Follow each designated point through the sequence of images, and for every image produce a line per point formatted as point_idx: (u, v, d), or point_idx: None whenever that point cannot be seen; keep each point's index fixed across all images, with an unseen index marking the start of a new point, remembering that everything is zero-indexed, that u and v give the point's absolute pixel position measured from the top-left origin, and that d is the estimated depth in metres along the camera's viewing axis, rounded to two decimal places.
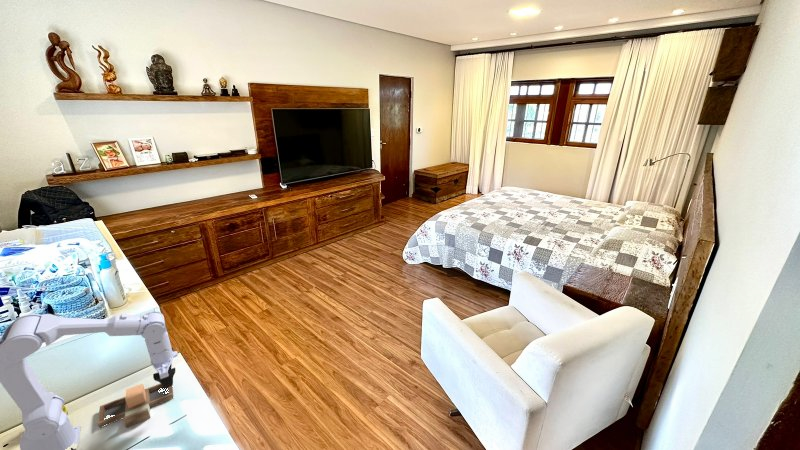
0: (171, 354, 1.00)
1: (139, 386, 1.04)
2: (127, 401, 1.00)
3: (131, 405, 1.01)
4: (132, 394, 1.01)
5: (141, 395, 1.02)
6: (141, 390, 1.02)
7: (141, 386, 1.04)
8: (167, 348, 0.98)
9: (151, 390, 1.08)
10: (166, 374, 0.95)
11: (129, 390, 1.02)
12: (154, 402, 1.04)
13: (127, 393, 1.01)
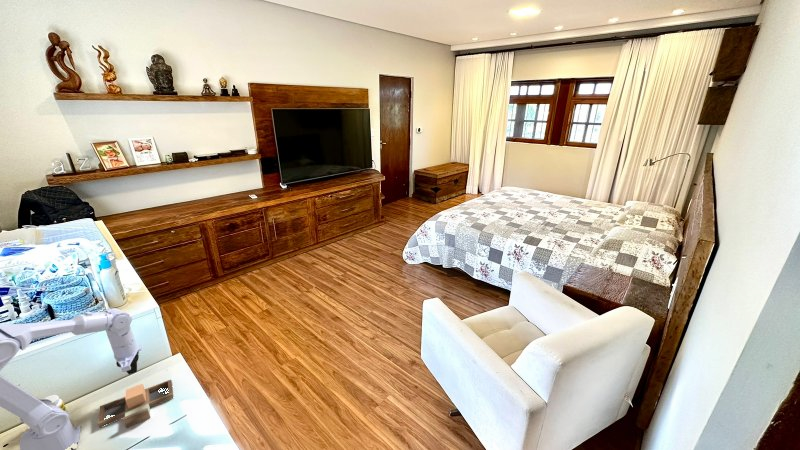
0: (135, 348, 1.03)
1: (139, 386, 1.04)
2: (127, 401, 1.00)
3: (131, 405, 1.01)
4: (132, 394, 1.01)
5: (141, 395, 1.02)
6: (141, 390, 1.02)
7: (141, 386, 1.04)
8: (130, 342, 1.00)
9: (151, 390, 1.08)
10: (128, 367, 0.98)
11: (129, 390, 1.02)
12: (154, 402, 1.04)
13: (127, 393, 1.01)
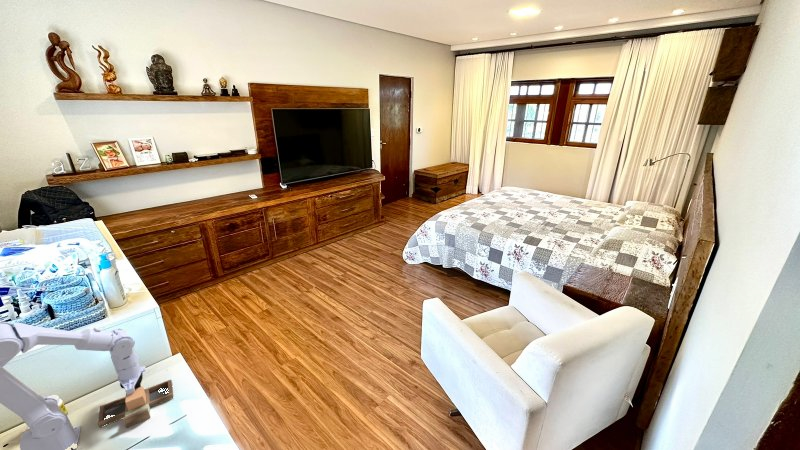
0: (138, 369, 1.02)
1: (139, 388, 1.03)
2: (127, 404, 0.99)
3: (131, 408, 1.00)
4: (132, 397, 1.00)
5: (141, 398, 1.01)
6: (141, 393, 1.02)
7: (141, 388, 1.03)
8: (134, 364, 0.99)
9: (151, 390, 1.08)
10: (132, 389, 0.97)
11: None
12: (154, 402, 1.04)
13: (127, 396, 1.00)
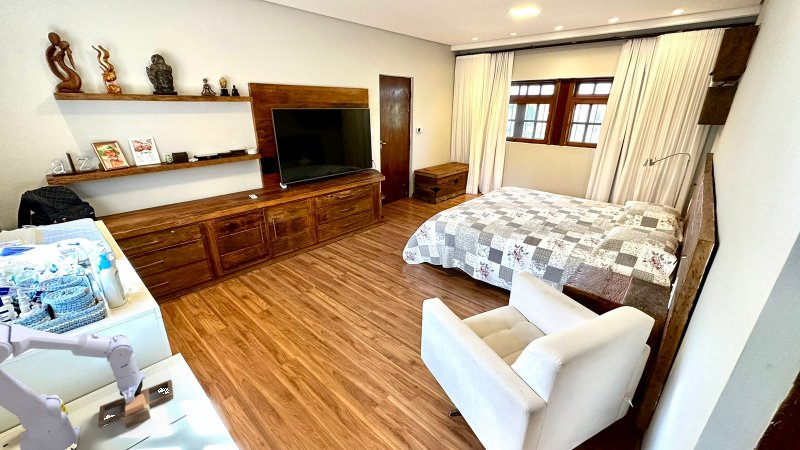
0: (138, 377, 0.99)
1: (139, 396, 1.01)
2: (127, 412, 0.97)
3: None
4: (132, 405, 0.98)
5: (141, 405, 0.99)
6: (141, 400, 0.99)
7: (141, 396, 1.01)
8: (134, 371, 0.97)
9: (151, 390, 1.08)
10: (132, 397, 0.94)
11: None
12: (154, 402, 1.04)
13: (127, 403, 0.98)
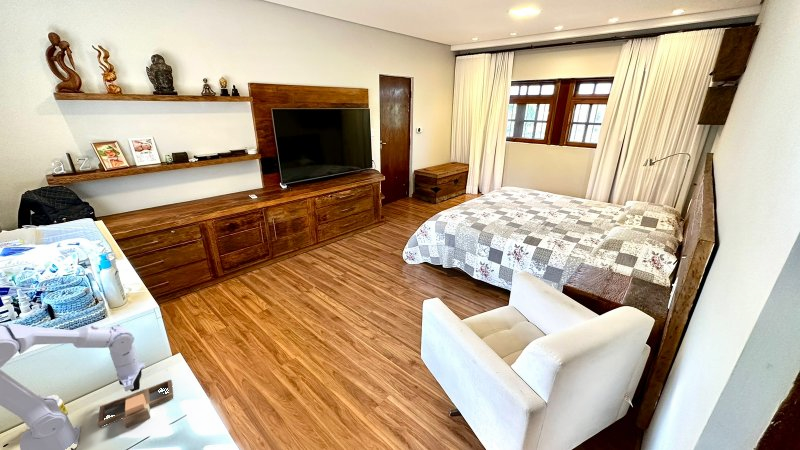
0: (138, 366, 1.01)
1: (139, 396, 1.01)
2: (127, 412, 0.97)
3: None
4: (132, 405, 0.98)
5: (141, 405, 0.99)
6: (141, 400, 0.99)
7: (141, 396, 1.01)
8: (133, 360, 0.99)
9: (151, 390, 1.08)
10: (131, 386, 0.97)
11: (129, 400, 0.99)
12: (154, 402, 1.04)
13: (127, 403, 0.98)
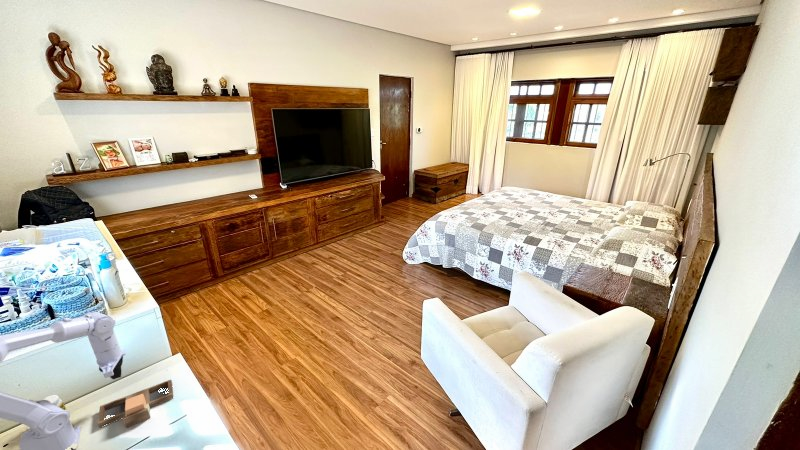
0: (118, 353, 0.99)
1: (139, 396, 1.01)
2: (127, 412, 0.97)
3: None
4: (132, 405, 0.98)
5: (141, 405, 0.99)
6: (141, 400, 0.99)
7: (141, 396, 1.01)
8: (113, 347, 0.97)
9: (151, 390, 1.08)
10: (110, 373, 0.94)
11: (129, 400, 0.99)
12: (154, 402, 1.04)
13: (127, 403, 0.98)
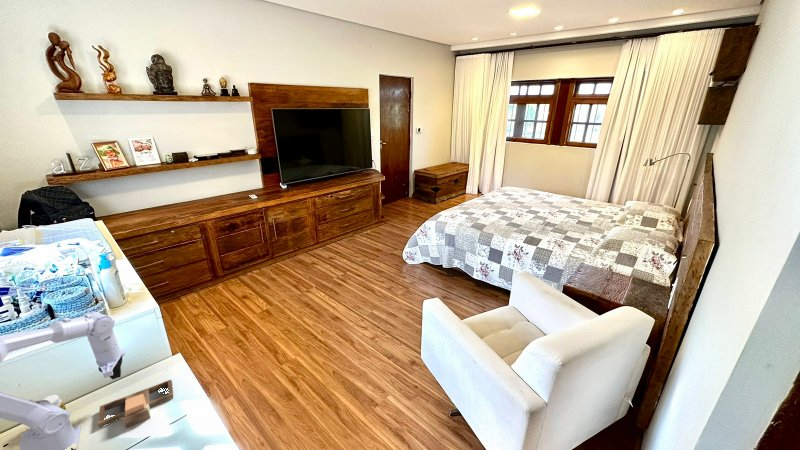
0: (118, 353, 0.99)
1: (139, 396, 1.01)
2: (127, 412, 0.97)
3: None
4: (132, 405, 0.98)
5: (141, 405, 0.99)
6: (141, 400, 0.99)
7: (141, 396, 1.01)
8: (112, 347, 0.97)
9: (151, 390, 1.08)
10: (110, 372, 0.94)
11: (129, 400, 0.99)
12: (154, 402, 1.04)
13: (127, 403, 0.98)
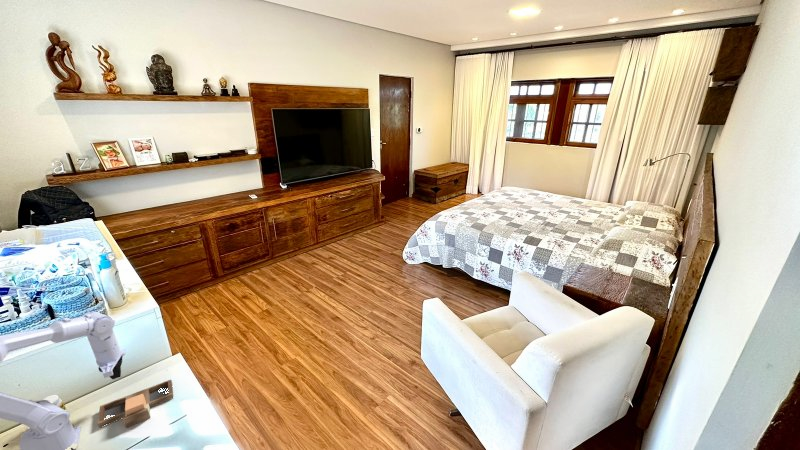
0: (118, 353, 0.99)
1: (139, 396, 1.01)
2: (127, 412, 0.97)
3: None
4: (132, 405, 0.98)
5: (141, 405, 0.99)
6: (141, 400, 0.99)
7: (141, 396, 1.01)
8: (112, 347, 0.97)
9: (151, 390, 1.08)
10: (110, 372, 0.94)
11: (129, 400, 0.99)
12: (154, 402, 1.04)
13: (127, 403, 0.98)
